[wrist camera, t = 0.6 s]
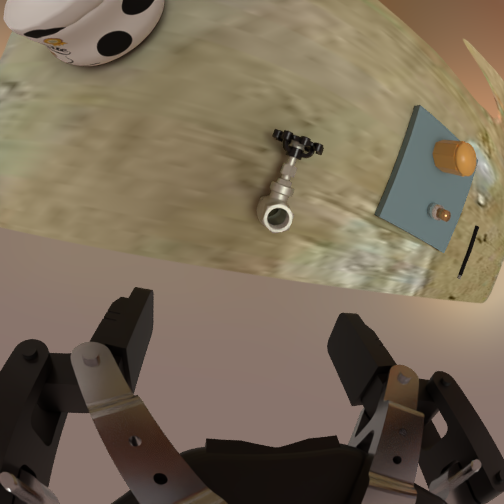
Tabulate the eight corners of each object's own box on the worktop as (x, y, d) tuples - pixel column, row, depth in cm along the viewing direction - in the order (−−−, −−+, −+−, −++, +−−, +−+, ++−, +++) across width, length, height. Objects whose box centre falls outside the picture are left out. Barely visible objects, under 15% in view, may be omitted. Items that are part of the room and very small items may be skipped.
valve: (286, 227, 38) (315, 148, 34) (297, 243, 32) (333, 148, 28) (241, 213, 37) (270, 130, 33) (245, 227, 31) (279, 126, 27)
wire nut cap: (438, 134, 33) (462, 136, 27) (455, 150, 34) (479, 154, 28) (429, 161, 35) (454, 165, 29) (447, 176, 36) (471, 182, 30)
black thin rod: (458, 277, 46) (461, 279, 45) (455, 277, 46) (458, 279, 45) (476, 225, 42) (479, 227, 41) (474, 224, 42) (477, 226, 41)
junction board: (414, 105, 32) (420, 105, 31) (472, 159, 36) (478, 160, 35) (374, 214, 39) (379, 216, 37) (439, 250, 42) (443, 253, 41)
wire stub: (430, 200, 37) (445, 205, 33) (439, 206, 38) (454, 212, 34) (425, 213, 38) (439, 220, 34) (433, 219, 38) (448, 226, 35)
